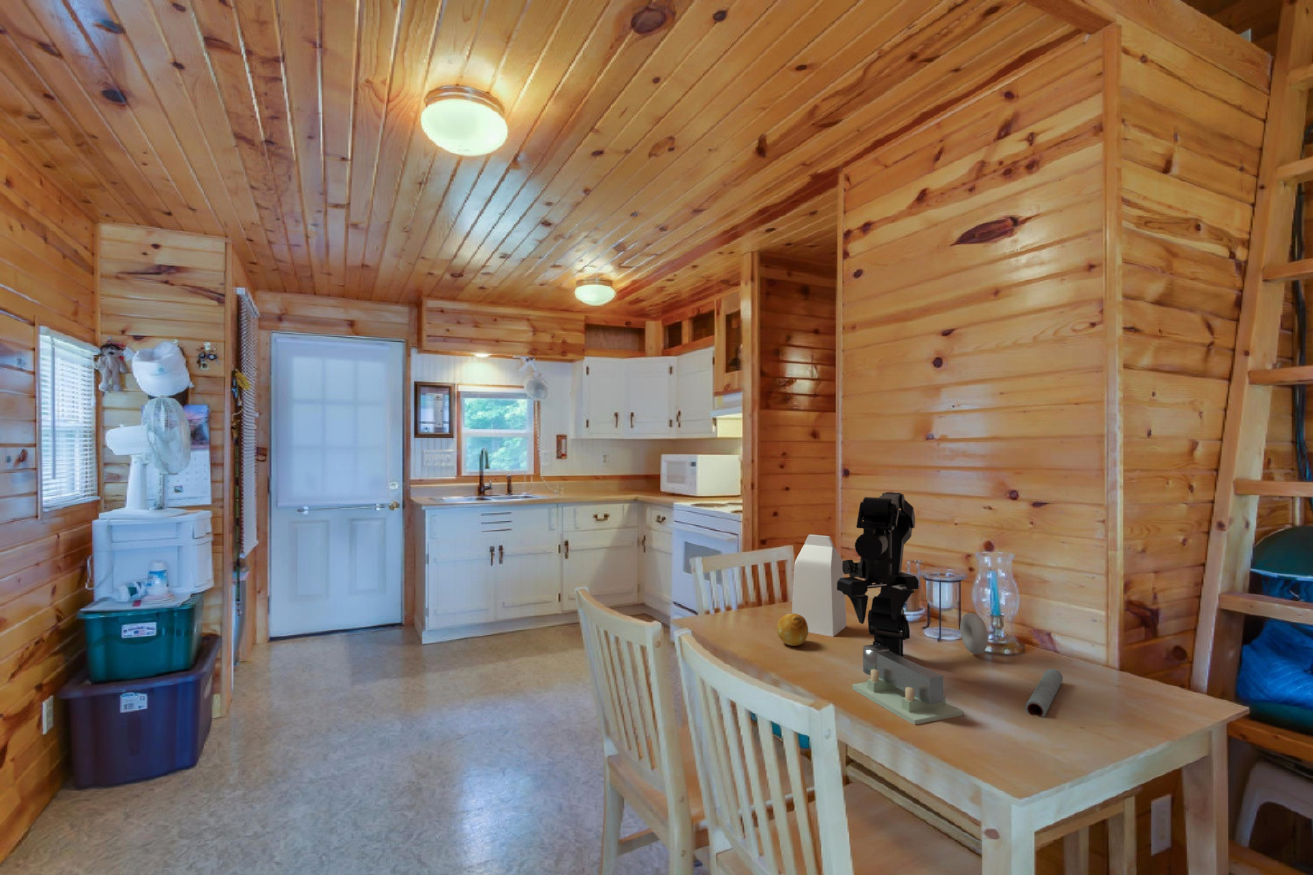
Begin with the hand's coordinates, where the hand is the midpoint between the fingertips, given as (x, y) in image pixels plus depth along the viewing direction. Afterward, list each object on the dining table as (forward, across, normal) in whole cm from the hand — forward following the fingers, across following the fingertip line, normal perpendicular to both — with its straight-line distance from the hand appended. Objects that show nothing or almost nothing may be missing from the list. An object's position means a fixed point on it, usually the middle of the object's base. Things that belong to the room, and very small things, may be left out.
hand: (877, 621), depth 142 cm
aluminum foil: (+13, -24, +24) cm, 37 cm away
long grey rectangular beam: (+9, +5, +15) cm, 18 cm away
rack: (+12, +5, +14) cm, 19 cm away
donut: (+12, -32, -3) cm, 34 cm away
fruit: (+12, +7, -24) cm, 28 cm away
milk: (+12, -8, -34) cm, 37 cm away
